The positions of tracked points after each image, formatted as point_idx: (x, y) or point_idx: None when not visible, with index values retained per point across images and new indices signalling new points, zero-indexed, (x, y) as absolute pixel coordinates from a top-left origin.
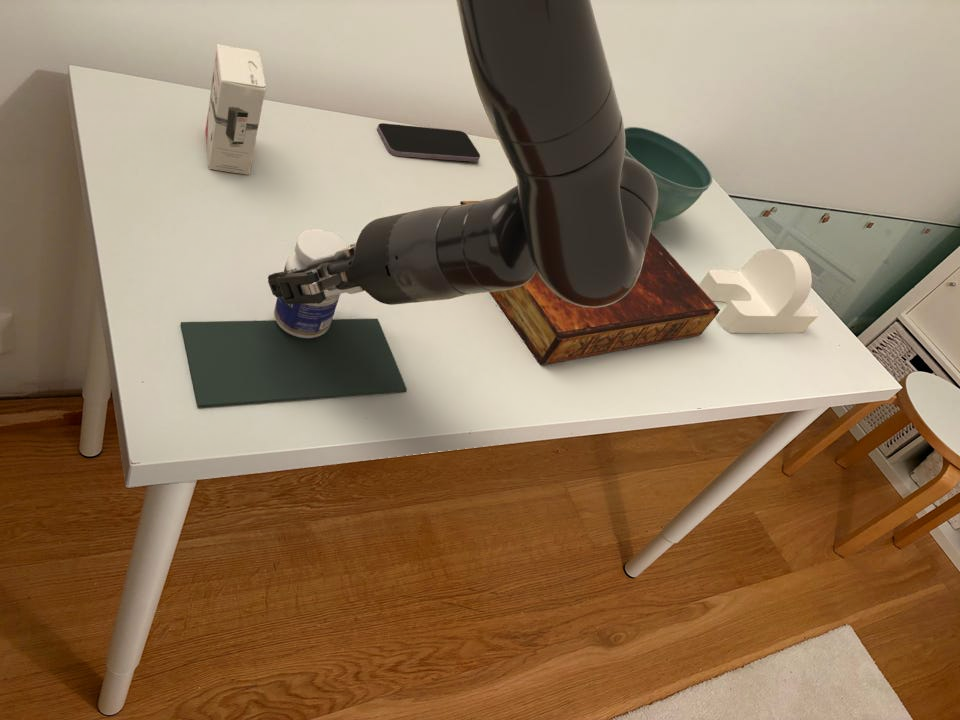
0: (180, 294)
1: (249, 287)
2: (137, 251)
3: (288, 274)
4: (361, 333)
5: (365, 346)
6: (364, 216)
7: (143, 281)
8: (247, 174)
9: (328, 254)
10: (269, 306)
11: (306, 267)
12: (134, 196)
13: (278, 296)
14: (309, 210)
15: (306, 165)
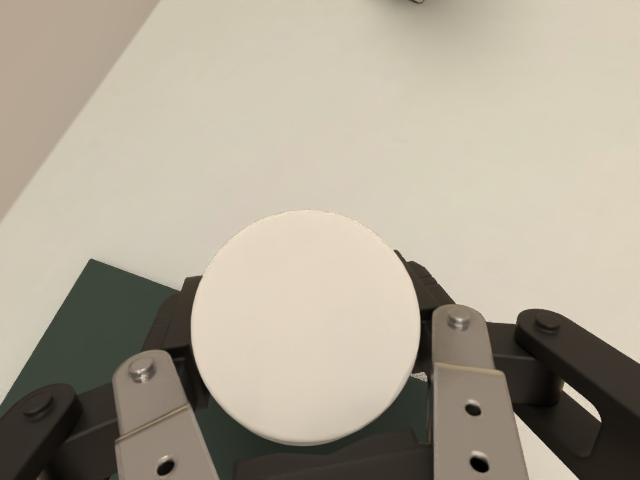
0: (145, 196)
1: None
2: (148, 94)
3: (43, 424)
4: (418, 431)
5: None
6: (592, 130)
7: (111, 152)
8: (418, 1)
9: (294, 379)
10: None
11: (149, 413)
12: (220, 2)
13: None
14: (487, 91)
15: (534, 6)
